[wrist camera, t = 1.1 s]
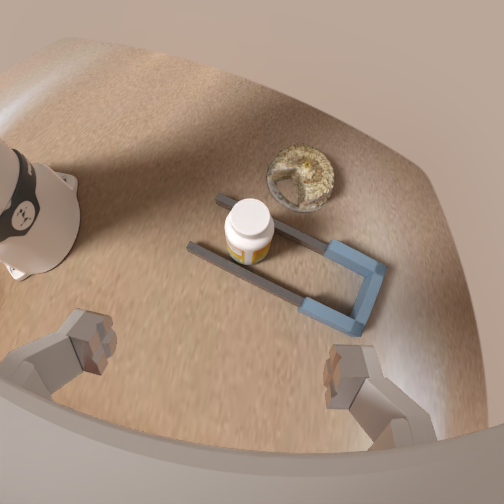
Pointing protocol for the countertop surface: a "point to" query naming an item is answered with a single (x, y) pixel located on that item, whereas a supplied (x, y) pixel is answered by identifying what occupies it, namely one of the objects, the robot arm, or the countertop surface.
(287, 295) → the guide rails
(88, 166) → the countertop surface
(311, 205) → the cake
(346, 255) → the socket block
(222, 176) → the countertop surface
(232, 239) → the supplement bottle
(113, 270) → the countertop surface
